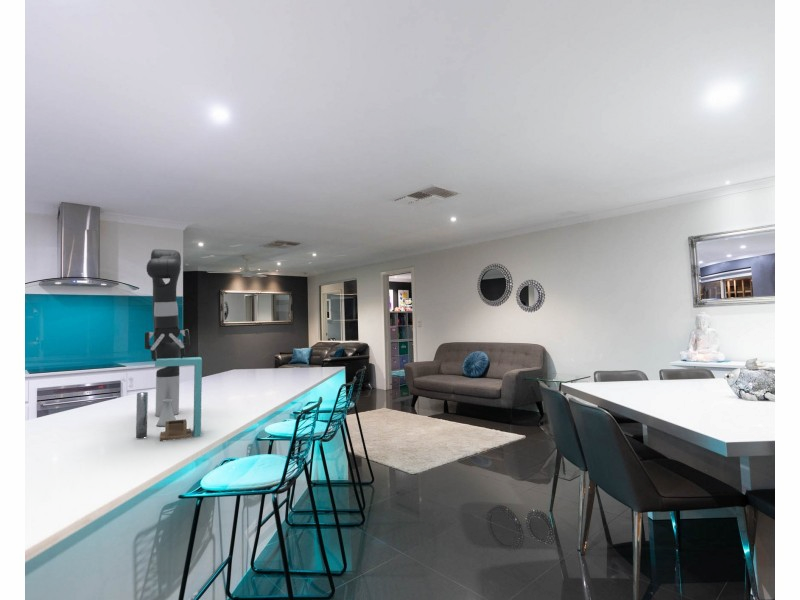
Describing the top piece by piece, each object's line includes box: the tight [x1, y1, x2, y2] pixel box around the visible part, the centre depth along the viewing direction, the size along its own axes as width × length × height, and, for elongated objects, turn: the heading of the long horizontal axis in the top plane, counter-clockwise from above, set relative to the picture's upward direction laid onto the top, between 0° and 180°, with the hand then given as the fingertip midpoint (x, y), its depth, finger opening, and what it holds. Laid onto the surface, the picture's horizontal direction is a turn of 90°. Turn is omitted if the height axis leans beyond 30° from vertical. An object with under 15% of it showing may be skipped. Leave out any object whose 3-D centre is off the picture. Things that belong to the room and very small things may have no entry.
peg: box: [135, 391, 149, 439], centre depth 154 cm, size 3×3×16 cm
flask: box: [156, 399, 177, 427], centre depth 173 cm, size 7×7×10 cm
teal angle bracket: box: [154, 356, 203, 438], centre depth 157 cm, size 10×15×28 cm, turn 118°
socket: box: [159, 418, 193, 442], centre depth 156 cm, size 10×10×5 cm
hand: (168, 359), depth 153 cm, fingers open, 8 cm apart
